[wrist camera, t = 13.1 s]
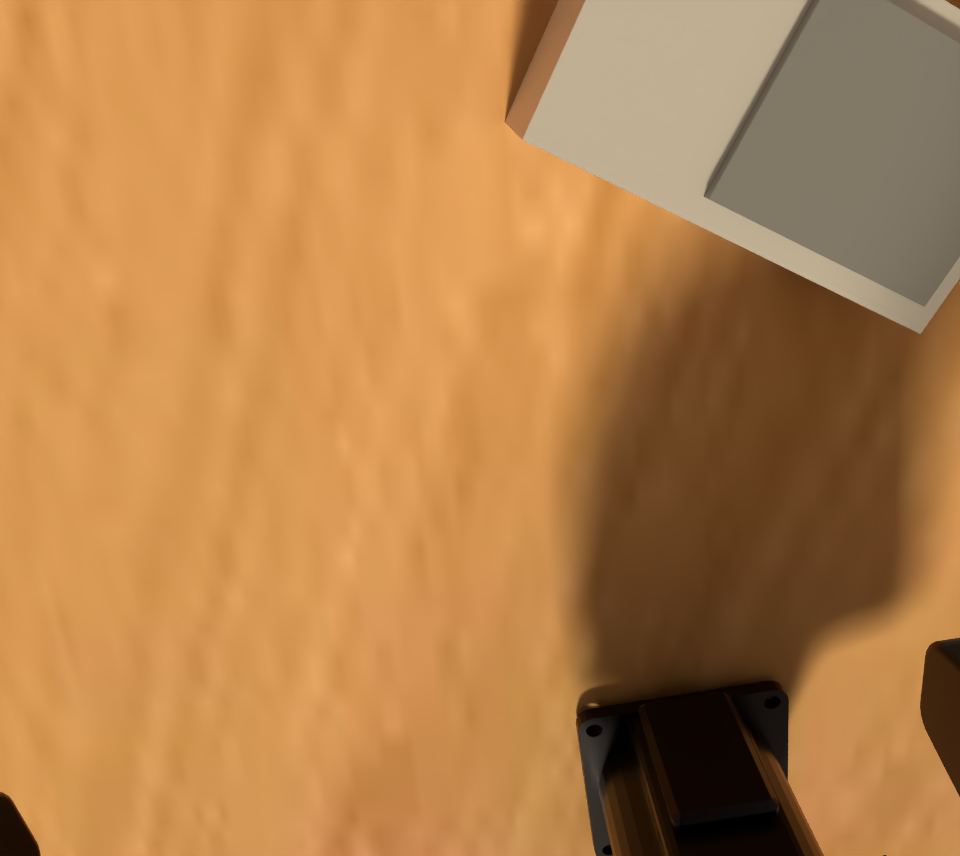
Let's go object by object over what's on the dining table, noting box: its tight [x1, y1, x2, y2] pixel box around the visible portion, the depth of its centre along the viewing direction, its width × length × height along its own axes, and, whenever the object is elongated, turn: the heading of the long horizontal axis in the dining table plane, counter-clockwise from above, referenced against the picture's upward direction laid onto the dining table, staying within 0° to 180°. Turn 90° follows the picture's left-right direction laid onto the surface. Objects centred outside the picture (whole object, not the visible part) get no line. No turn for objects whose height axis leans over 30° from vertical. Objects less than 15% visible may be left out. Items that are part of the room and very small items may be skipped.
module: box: [505, 0, 960, 334], centre depth 16 cm, size 5×9×4 cm, turn 65°
